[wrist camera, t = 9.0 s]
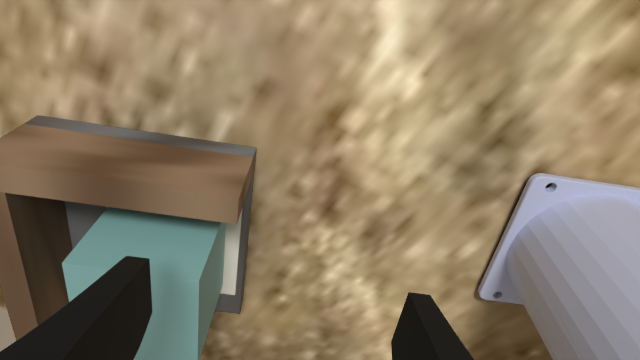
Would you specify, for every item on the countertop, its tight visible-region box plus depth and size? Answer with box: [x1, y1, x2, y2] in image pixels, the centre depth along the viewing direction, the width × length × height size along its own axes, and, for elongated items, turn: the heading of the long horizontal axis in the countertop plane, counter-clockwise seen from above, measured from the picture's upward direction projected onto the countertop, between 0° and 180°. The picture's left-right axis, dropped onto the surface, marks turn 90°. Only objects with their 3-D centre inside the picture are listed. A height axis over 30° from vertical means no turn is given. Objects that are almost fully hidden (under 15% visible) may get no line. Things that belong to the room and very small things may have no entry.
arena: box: [0, 116, 256, 341], centre depth 20 cm, size 10×10×4 cm
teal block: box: [62, 207, 226, 360], centre depth 19 cm, size 5×5×5 cm
